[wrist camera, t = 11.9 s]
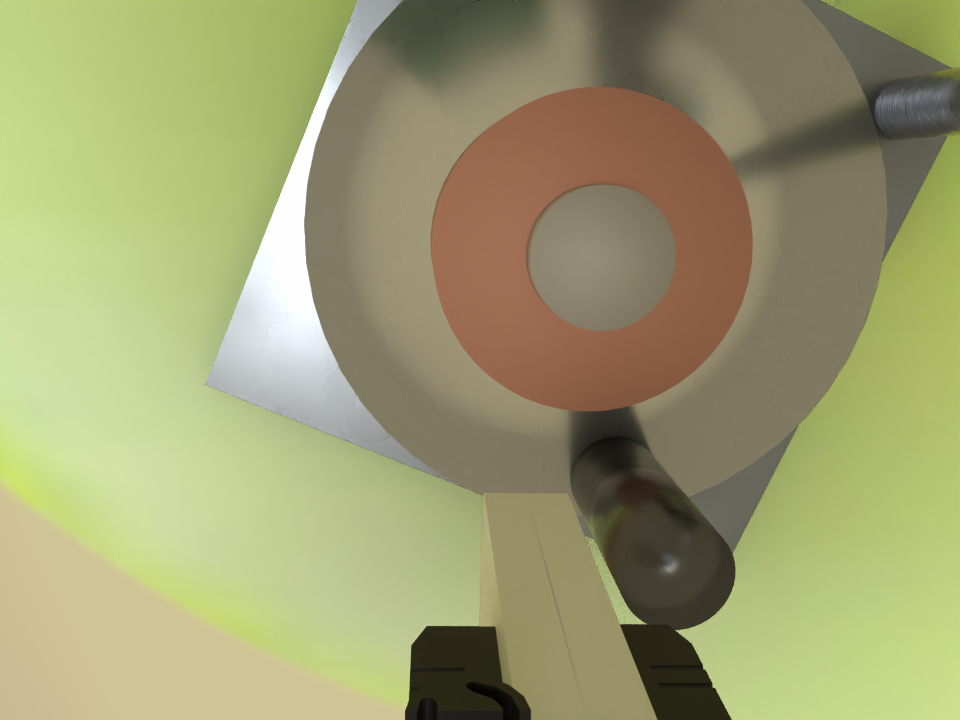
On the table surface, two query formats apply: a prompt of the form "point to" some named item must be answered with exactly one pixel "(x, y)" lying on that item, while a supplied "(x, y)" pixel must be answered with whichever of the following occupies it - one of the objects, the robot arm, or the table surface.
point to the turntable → (734, 363)
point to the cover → (591, 248)
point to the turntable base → (312, 366)
